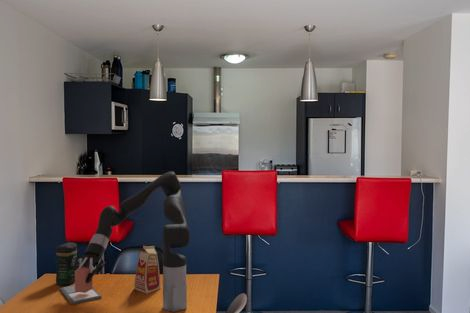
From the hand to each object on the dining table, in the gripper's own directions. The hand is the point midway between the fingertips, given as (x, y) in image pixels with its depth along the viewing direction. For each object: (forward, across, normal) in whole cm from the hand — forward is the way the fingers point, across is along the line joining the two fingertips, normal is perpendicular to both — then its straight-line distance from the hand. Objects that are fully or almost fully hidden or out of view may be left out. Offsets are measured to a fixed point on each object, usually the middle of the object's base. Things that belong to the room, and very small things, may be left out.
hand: (80, 281), depth 169 cm
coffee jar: (-6, +19, -17) cm, 26 cm away
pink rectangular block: (+2, 0, -4) cm, 5 cm away
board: (+2, +4, -9) cm, 10 cm away
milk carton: (-8, -21, -19) cm, 30 cm away
